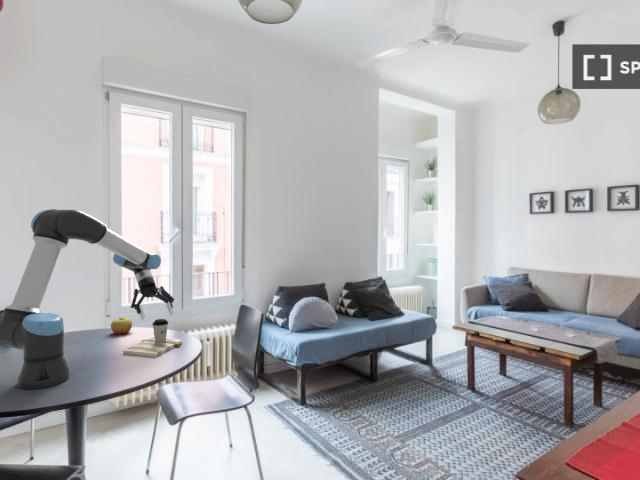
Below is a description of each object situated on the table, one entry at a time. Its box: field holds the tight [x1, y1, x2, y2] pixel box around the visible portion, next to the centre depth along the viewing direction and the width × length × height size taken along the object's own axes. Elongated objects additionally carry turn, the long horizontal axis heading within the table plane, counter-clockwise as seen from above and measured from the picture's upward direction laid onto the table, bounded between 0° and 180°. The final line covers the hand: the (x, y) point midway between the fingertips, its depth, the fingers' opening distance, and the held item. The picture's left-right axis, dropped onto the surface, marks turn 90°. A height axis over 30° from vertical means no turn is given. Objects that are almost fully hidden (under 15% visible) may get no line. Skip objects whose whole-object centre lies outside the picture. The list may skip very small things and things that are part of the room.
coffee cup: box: [152, 318, 169, 343], centre depth 179 cm, size 7×7×10 cm
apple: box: [110, 317, 133, 335], centre depth 197 cm, size 10×10×8 cm
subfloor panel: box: [122, 336, 183, 358], centre depth 174 cm, size 20×19×2 cm
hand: (158, 316), depth 183 cm, fingers open, 13 cm apart
